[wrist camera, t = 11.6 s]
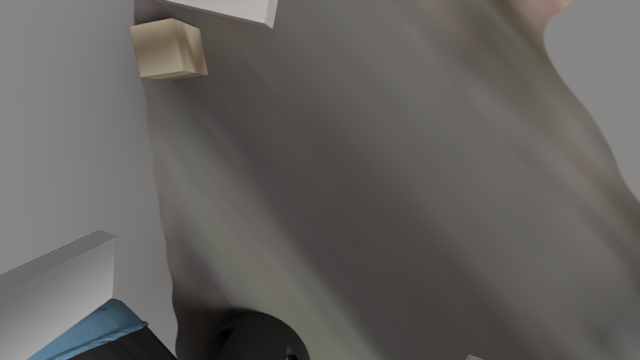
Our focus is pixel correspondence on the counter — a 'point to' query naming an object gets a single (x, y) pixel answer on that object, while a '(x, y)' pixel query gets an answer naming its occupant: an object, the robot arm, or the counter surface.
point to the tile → (233, 9)
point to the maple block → (168, 50)
